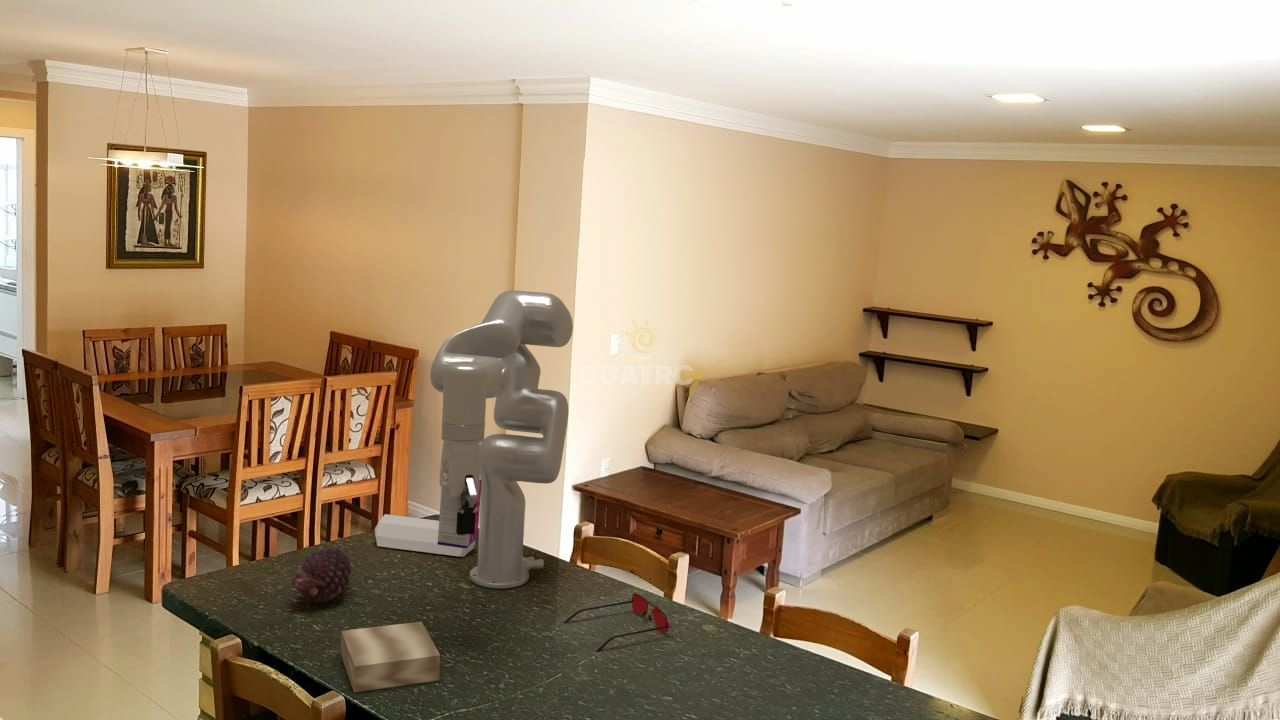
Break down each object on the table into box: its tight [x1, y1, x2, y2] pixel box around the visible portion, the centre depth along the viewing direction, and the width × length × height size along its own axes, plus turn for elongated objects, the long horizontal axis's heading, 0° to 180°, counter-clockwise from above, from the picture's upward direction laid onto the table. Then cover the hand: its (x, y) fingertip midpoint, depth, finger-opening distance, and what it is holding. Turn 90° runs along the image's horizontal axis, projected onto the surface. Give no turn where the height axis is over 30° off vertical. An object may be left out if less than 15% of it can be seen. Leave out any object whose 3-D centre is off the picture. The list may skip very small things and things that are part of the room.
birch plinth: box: [340, 621, 441, 693], centre depth 171 cm, size 14×14×4 cm
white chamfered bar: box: [374, 513, 476, 558], centre depth 229 cm, size 7×7×24 cm
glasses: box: [562, 591, 673, 653], centre depth 192 cm, size 14×16×5 cm
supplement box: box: [437, 480, 482, 549], centre depth 179 cm, size 6×6×12 cm
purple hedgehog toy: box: [291, 547, 352, 604], centre depth 197 cm, size 18×10×10 cm, turn 169°
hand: (458, 525), depth 179 cm, fingers closed on supplement box, 7 cm apart
